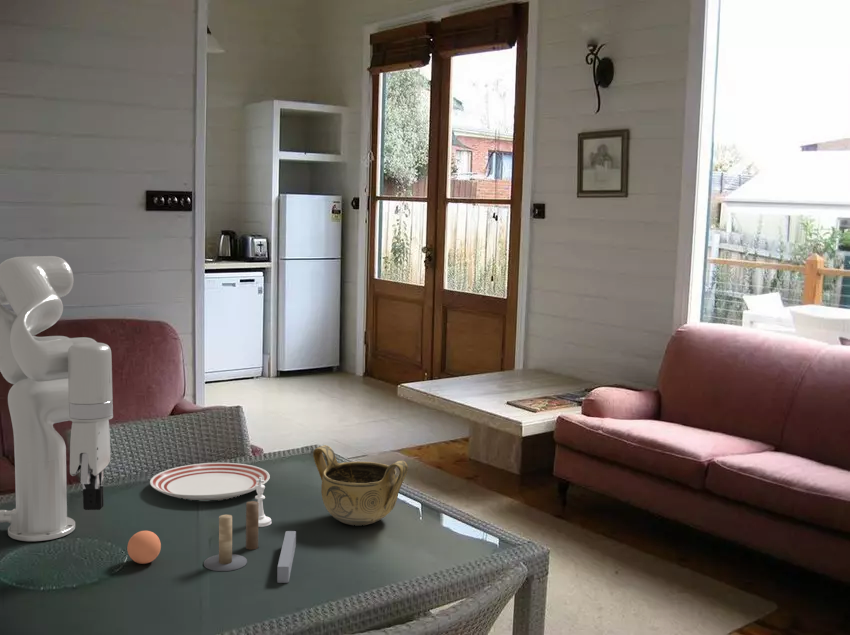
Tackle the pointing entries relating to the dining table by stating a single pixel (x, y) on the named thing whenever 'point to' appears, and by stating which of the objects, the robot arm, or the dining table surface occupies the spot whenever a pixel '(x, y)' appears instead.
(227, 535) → the beech pin
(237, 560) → the pin spot
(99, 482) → the robot arm
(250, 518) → the walnut pin
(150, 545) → the ball
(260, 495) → the chess piece
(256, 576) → the dining table surface
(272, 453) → the dining table surface
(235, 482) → the dinner plate
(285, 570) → the back wall
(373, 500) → the ceramic bowl
